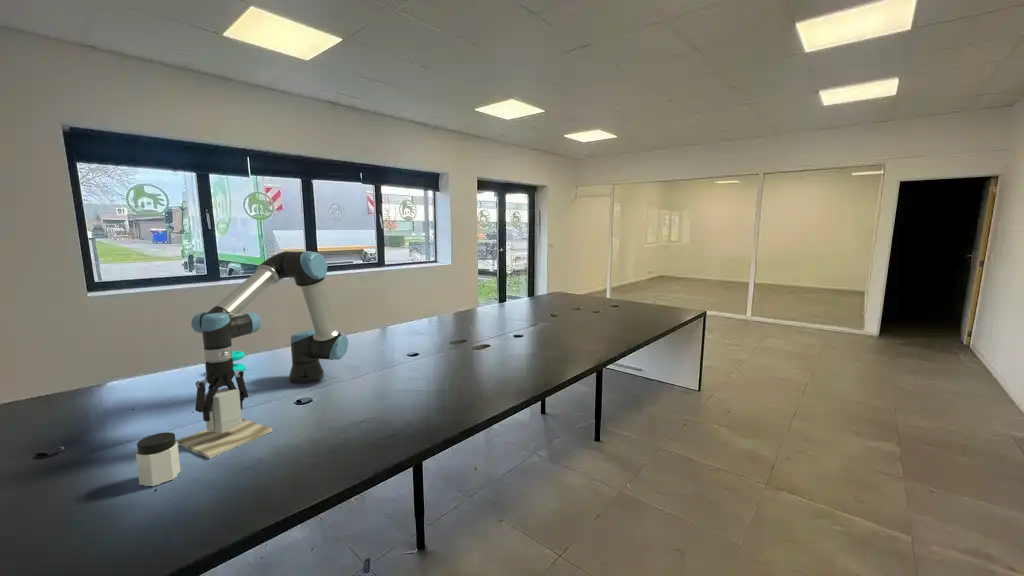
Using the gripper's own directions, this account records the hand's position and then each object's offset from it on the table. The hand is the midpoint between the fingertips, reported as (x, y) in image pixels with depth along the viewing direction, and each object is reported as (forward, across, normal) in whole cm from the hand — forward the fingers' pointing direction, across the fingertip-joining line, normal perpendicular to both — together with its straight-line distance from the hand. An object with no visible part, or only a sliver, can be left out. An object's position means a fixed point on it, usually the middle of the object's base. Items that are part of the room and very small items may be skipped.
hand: (224, 424), depth 139 cm
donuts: (+5, +41, +70) cm, 81 cm away
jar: (+5, -22, -9) cm, 24 cm away
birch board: (+5, 0, 0) cm, 5 cm away
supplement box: (+1, 0, 0) cm, 1 cm away
